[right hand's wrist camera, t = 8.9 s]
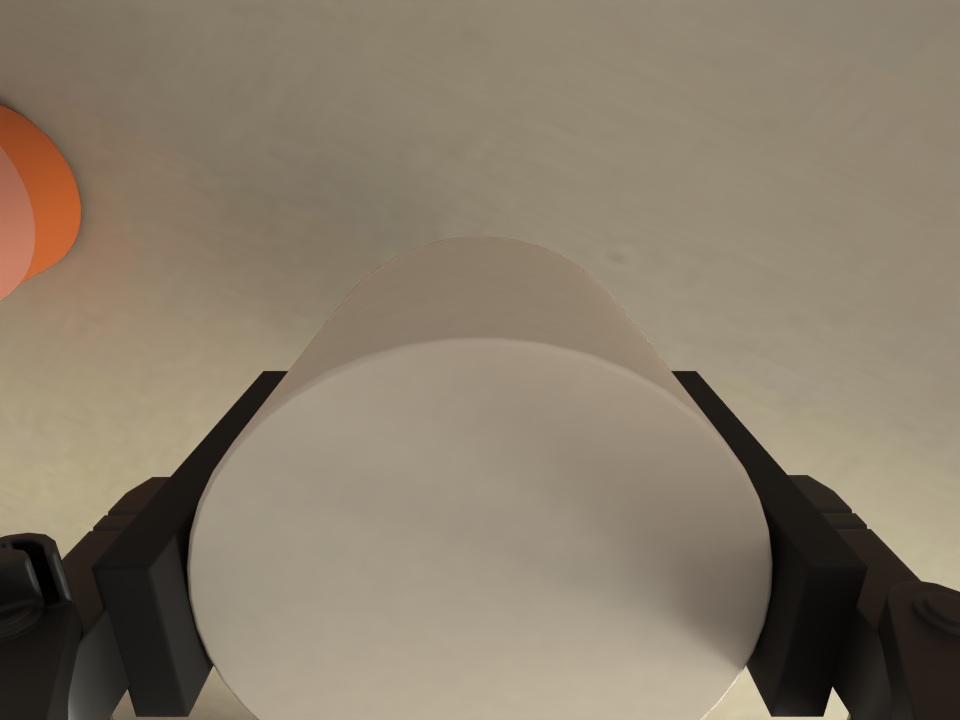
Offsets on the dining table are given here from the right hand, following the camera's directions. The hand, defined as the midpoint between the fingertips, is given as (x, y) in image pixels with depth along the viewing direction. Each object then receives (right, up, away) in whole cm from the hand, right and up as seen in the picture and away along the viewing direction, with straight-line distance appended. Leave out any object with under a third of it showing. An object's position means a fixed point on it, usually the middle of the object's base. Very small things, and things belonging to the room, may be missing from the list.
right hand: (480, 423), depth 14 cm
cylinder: (0, 0, +1) cm, 1 cm away
